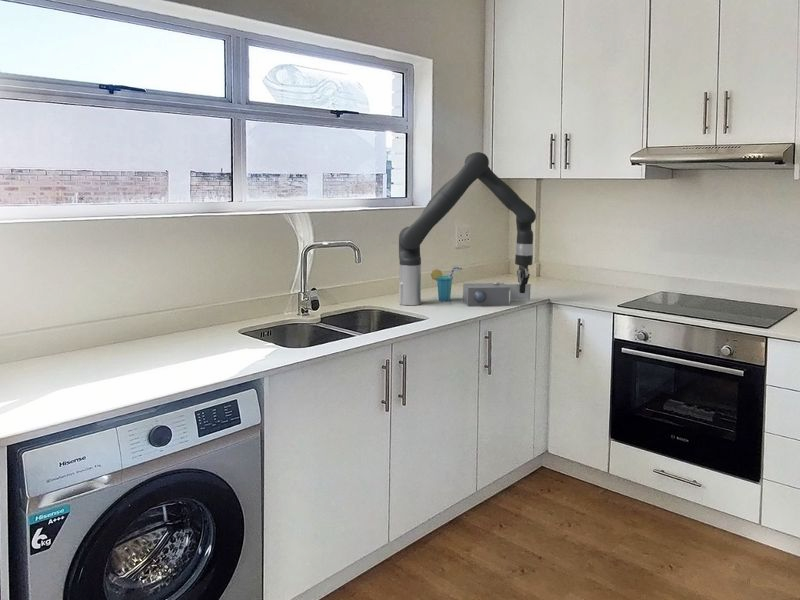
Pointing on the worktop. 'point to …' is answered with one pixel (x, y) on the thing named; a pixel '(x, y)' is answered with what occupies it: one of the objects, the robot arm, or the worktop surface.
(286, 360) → the worktop surface
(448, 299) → the cup
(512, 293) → the side door
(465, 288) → the grey knobbed box
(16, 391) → the worktop surface
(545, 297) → the worktop surface
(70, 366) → the worktop surface
